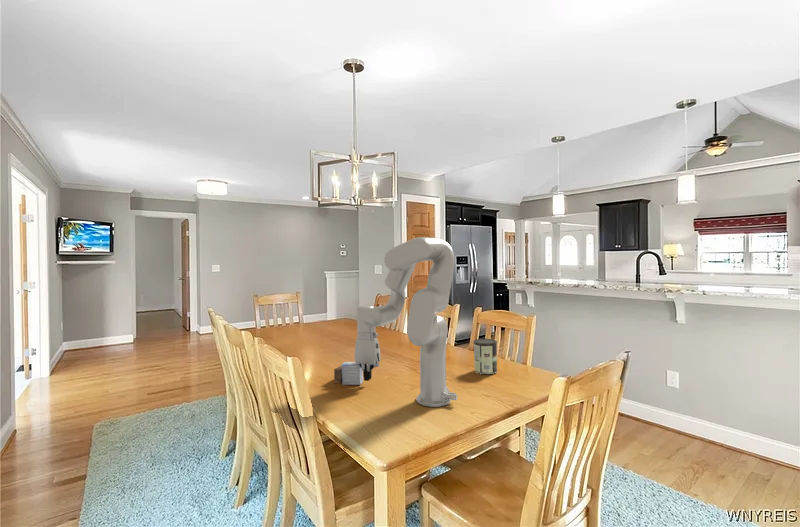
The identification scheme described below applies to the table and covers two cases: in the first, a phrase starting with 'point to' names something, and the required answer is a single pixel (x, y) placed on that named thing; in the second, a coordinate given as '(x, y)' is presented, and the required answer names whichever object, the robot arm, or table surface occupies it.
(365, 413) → the table surface
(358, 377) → the medicine box
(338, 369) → the walnut block
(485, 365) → the coffee can
